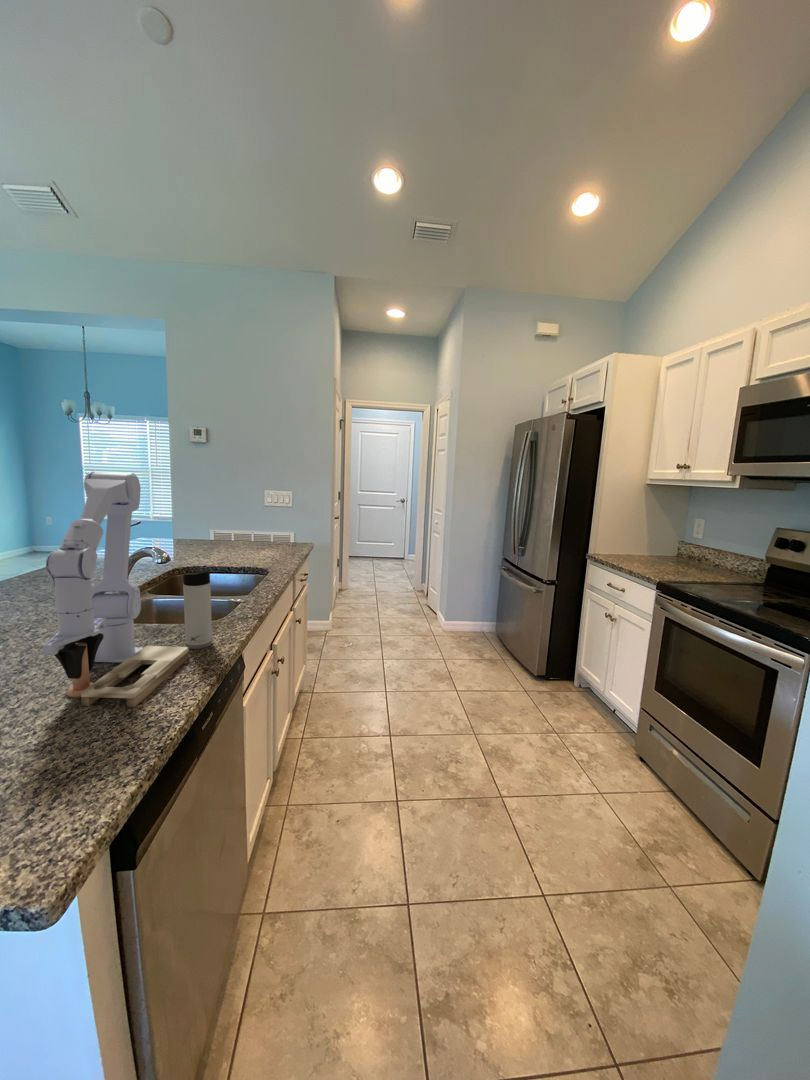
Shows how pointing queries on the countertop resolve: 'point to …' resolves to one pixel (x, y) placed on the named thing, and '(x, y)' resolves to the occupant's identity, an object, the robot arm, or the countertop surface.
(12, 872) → the countertop surface
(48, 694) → the countertop surface
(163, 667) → the keyhole plate
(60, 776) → the countertop surface
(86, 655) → the terracotta peg
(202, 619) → the travel mug
